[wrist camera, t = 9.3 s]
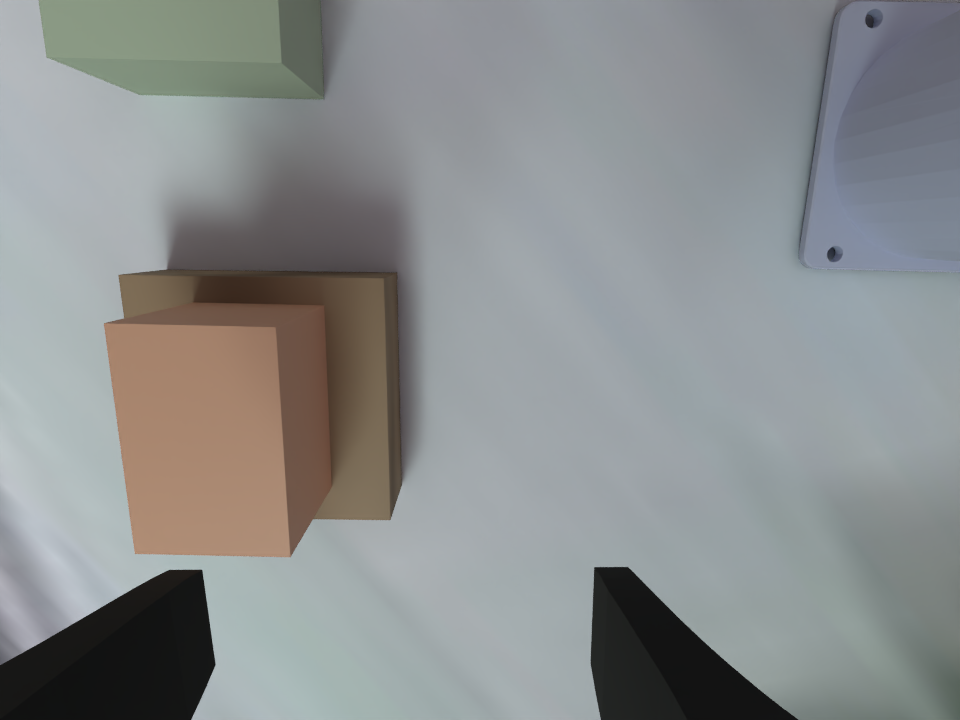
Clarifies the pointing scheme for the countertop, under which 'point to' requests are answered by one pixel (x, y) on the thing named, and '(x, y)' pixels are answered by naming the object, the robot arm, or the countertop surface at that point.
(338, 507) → the walnut slab
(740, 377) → the countertop surface
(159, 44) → the sage brick
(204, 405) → the terracotta brick
